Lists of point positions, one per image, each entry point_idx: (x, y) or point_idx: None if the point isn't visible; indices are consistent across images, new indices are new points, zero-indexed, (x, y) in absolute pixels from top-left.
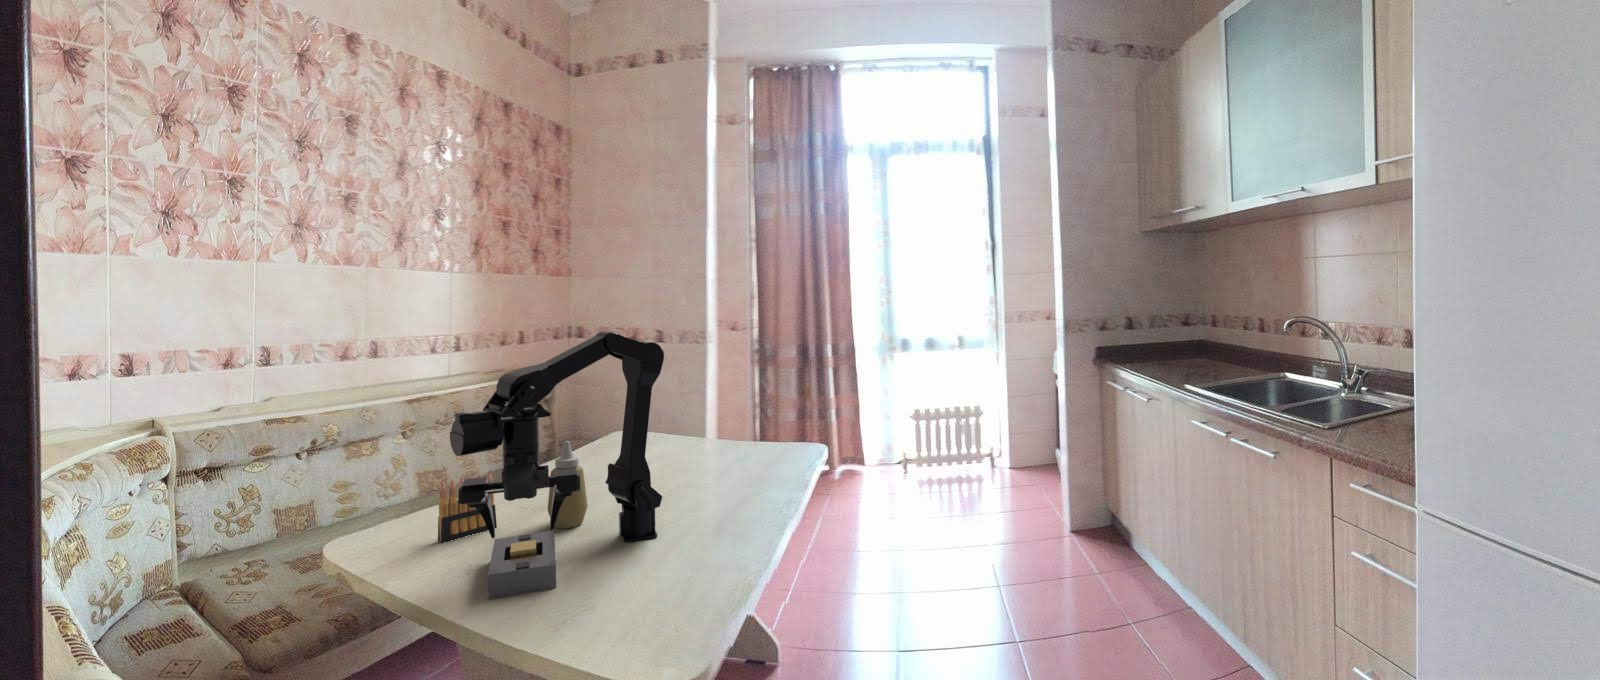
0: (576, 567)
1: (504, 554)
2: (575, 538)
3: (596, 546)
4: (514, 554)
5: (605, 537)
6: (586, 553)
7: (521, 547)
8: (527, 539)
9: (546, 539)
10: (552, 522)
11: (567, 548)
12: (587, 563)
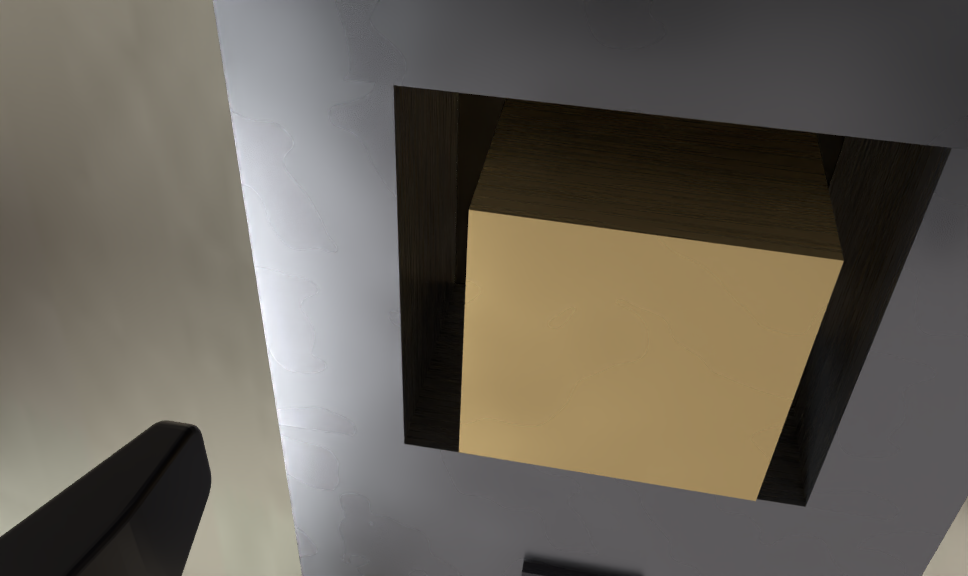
0: (134, 47)
1: (876, 336)
2: (225, 552)
3: (40, 373)
4: (775, 225)
5: (8, 474)
6: (96, 294)
7: (659, 334)
8: (555, 560)
9: (364, 476)
10: (89, 517)
11: (266, 444)
12: (41, 87)
